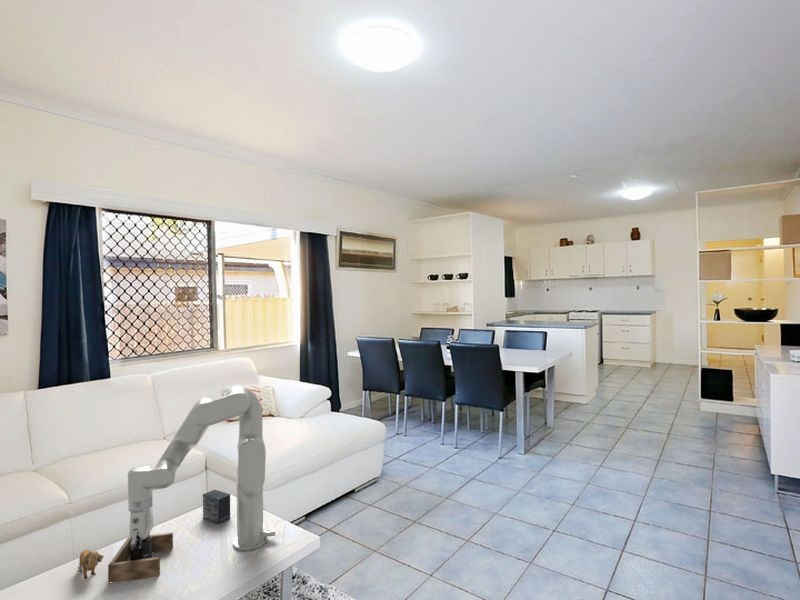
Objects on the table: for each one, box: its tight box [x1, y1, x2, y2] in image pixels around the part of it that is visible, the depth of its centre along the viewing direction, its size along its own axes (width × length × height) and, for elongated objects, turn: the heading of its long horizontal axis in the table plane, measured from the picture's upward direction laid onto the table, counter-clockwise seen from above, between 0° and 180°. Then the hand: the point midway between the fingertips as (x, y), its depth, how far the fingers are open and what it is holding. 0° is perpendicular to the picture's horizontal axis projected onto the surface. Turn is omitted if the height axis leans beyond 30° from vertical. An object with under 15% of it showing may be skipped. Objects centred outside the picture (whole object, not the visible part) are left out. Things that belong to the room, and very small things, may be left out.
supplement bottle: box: [129, 535, 153, 561], centre depth 156 cm, size 7×7×12 cm
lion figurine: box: [77, 549, 104, 580], centre depth 152 cm, size 15×5×9 cm, turn 55°
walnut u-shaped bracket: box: [107, 532, 174, 584], centre depth 156 cm, size 15×17×6 cm
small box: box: [202, 489, 231, 525], centre depth 189 cm, size 11×6×10 cm, turn 60°
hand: (141, 552), depth 156 cm, fingers closed on supplement bottle, 6 cm apart
